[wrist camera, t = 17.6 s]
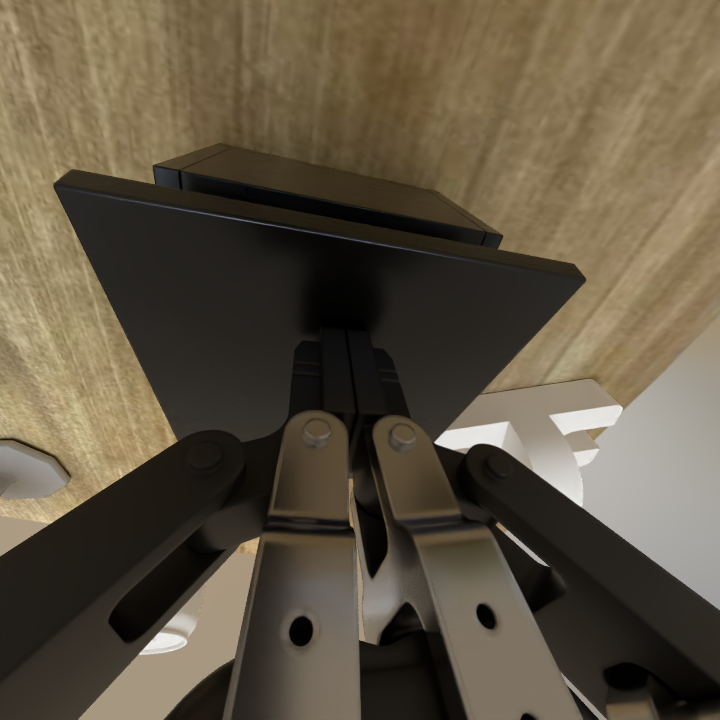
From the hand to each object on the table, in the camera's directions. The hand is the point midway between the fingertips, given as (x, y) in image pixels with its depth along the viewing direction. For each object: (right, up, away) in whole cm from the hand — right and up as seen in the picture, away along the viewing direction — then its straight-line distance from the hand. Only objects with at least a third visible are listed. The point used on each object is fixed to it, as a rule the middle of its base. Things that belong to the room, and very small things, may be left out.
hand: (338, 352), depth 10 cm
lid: (-1, -2, +4) cm, 4 cm away
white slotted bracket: (+16, -7, +24) cm, 30 cm away
